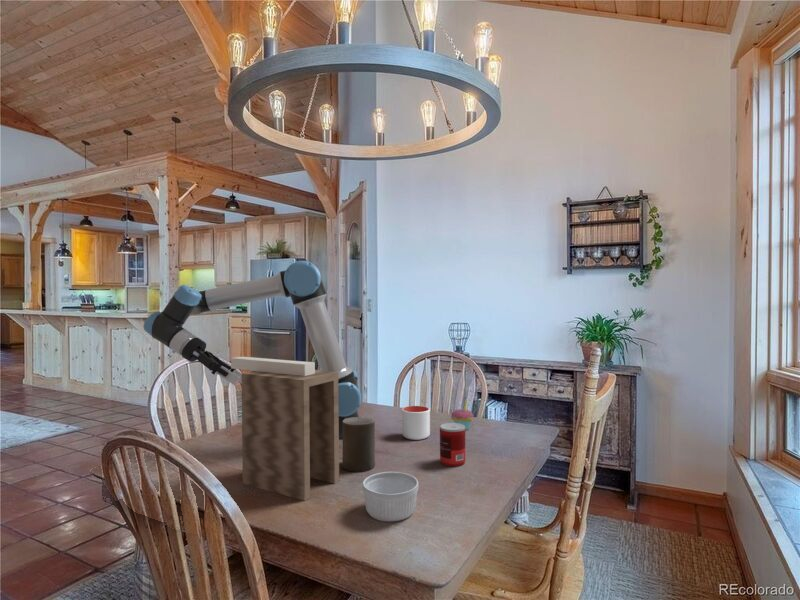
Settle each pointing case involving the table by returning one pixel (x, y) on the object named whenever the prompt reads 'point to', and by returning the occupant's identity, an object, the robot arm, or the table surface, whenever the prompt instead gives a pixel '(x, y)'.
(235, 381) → the robot arm
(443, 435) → the canned food
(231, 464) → the table surface
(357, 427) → the pillar candle
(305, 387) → the stand
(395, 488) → the ramekin
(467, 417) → the cupcake
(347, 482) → the table surface
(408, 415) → the cup
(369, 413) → the table surface
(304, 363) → the bar
